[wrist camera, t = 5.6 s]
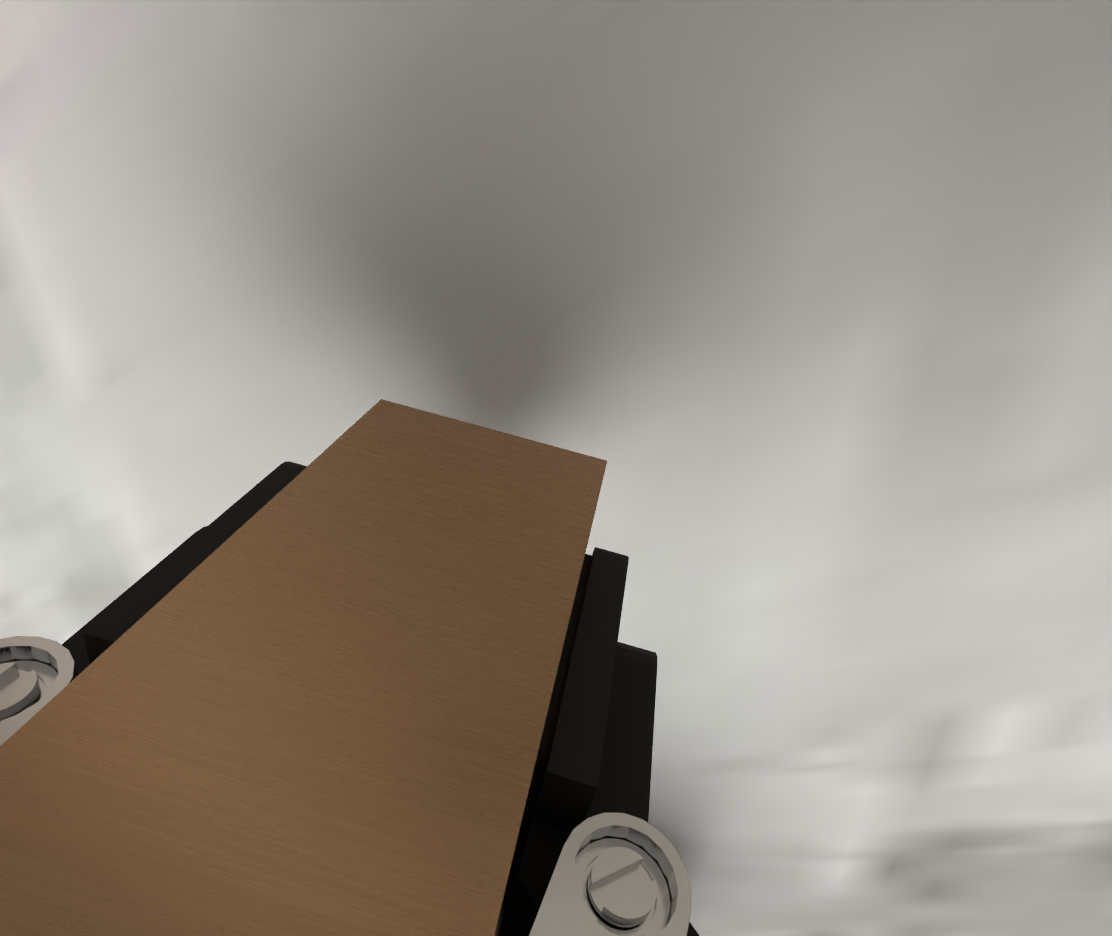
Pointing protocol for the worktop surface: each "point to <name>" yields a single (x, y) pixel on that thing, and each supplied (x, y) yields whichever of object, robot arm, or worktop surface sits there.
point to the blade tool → (316, 706)
